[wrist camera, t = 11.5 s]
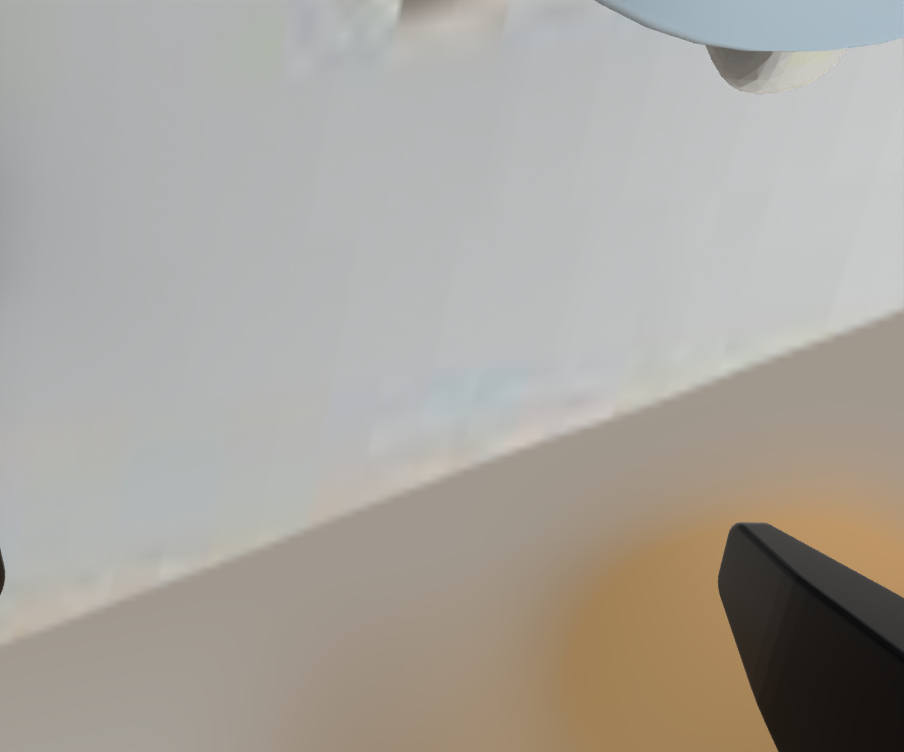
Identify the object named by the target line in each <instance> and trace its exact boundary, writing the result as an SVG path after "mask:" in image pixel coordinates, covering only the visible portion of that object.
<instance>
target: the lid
mask: <svg viewBox="0 0 904 752" xmlns="http://www.w3.org/2000/svg"><path fill="white" fill-rule="evenodd" d="M595 1H597V2H598V3H600V4H601V5H603V6H605V7H607V8H609V9H611V10H613V11H615V12H617V13H619V14H621V15H623V16H625V17H627V18H629V19H631V20H633V21H635V22H637V23H639V24H641V25H643V26H645V27H647V28H650V29H653V30H656V31H659V32H662V33H665V34H668V35H671V36H674V37H677V38H680V39H684V40H687V41H690V42H693V43H697V44H703V45H709V46H716V47H722V48H728V49H734V50H740V51H783V52H800V51H830V50H837V49H845V48H852V47H860V46H867V45H875V44H881V43H885V42H888V41H892V40H896V39H899V38H903V37H904V0H595Z"/></svg>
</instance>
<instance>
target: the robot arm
mask: <svg viewBox="0 0 904 752" xmlns="http://www.w3.org/2000/svg"><path fill="white" fill-rule="evenodd" d="M4 582H5V567H4V563H3V558H2V554H1V550H0V595H1V592H2V590H3V586H4ZM718 588H719V594H720V597H721V600H722V603H723V606H724V609H725V612H726V615H727V618H728V621H729V624H730V626H731V630H732V633H733V636H734V639H735V642H736V645H737V648H738V651H739V654H740V657H741V660H742V663H743V665H744V668H745V671H746V674H747V677H748V680H749V683H750V686H751V689H752V692H753V694H754V697H755V699H756V702H757V705H758V707H759V710H760V712H761V714H762V716H763V719H764V721H765V723H766V726H767V728H768V730H769V732H770V734H771V736H772V739H773V741H774V743H775V745H776V747H777V750H778V752H904V598H903V597H901V596H899V595H898V594H896V593H894V592H892V591H890V590H888V589H886V588H885V587H883V586H881V585H879V584H878V583H876V582H874V581H872V580H870V579H868V578H866V577H865V576H863V575H861V574H859V573H857V572H856V571H854V570H852V569H850V568H848V567H846V566H844V565H843V564H841V563H839V562H837V561H836V560H834V559H832V558H830V557H828V556H826V555H825V554H823V553H821V552H819V551H817V550H815V549H813V548H812V547H810V546H808V545H806V544H804V543H803V542H801V541H799V540H797V539H795V538H794V537H792V536H790V535H788V534H786V533H784V532H782V531H781V530H779V529H777V528H775V527H773V526H772V525H769V524H767V523H736V524H735V525H733V526H732V528H731V529H730V531H729V534H728V538H727V542H726V546H725V550H724V555H723V559H722V562H721V567H720V571H719V575H718Z"/></svg>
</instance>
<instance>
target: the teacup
mask: <svg viewBox="0 0 904 752" xmlns="http://www.w3.org/2000/svg"><path fill="white" fill-rule="evenodd" d="M706 48H707V50H708V52H709V55H710V57H711V59H712V61H713V63H714V65H715V66H716V68H717V70H718V71H719V73H720V75H721V76H722V77H723V78H724V79H725V80H726V81H727V82H728V84H729V85H731V86H732V87H734V88H736V89H738V90H739V91H743V92H748V93H753V94H758V95H762V94H773V93H780V92H783V91H787V90H790V89H794V88H797V87H800V86H804V85H806V84H808V83H810V82H812V81H814V80H816V79H818V78H820V77H821V76H822V75H823V74H825V73H826V72H827V71H828V70H829V69H831V68H832V67H833V66H834V65H835V64H837V62H838V61H839V59H840V58H841V57H842V55H843V54H844V52H845V51H846V49H847V48H845V49H837V50H830V51H800V52H783V51H740V50H734V49H728V48H722V47H716V46H709V45H706Z"/></svg>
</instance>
